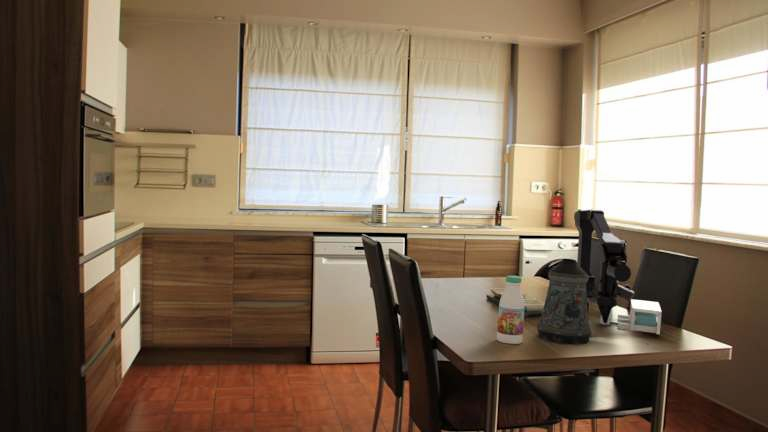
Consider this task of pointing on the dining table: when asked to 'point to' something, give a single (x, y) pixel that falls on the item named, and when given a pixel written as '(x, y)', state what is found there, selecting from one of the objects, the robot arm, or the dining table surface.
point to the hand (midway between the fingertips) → (605, 321)
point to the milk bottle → (511, 312)
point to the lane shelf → (640, 306)
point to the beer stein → (566, 306)
